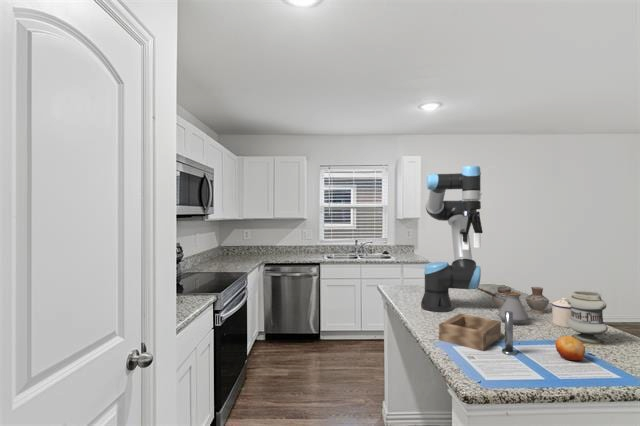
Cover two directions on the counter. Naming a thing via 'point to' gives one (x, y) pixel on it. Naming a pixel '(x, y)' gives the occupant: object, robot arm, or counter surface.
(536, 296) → the pottery
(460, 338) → the walnut box
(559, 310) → the teacup with lid
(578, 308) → the apothecary jar
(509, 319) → the metal post
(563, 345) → the fruit
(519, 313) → the coffee pot
